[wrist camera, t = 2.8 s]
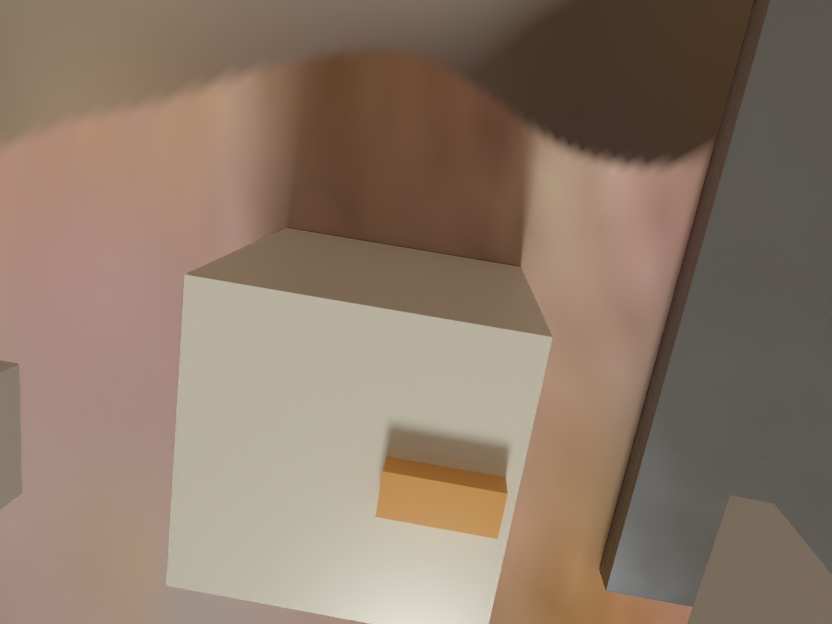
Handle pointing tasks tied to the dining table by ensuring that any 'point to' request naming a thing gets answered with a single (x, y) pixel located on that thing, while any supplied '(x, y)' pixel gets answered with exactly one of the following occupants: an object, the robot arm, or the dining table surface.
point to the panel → (744, 326)
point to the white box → (352, 428)
